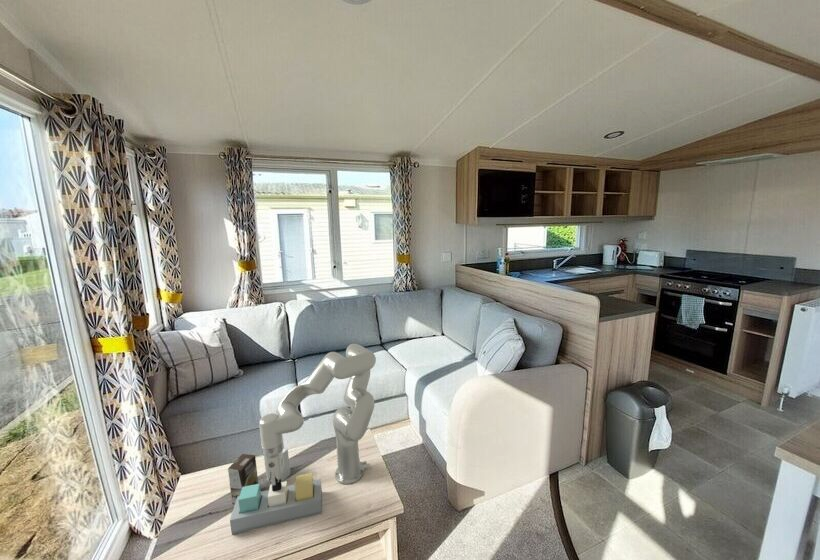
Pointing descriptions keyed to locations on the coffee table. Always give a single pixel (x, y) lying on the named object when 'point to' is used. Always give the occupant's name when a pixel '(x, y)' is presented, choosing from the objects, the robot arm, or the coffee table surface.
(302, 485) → the mustard key
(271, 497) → the ivory key
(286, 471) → the supplement box
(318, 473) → the coffee table surface
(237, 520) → the key console
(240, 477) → the coffee box
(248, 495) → the teal key
